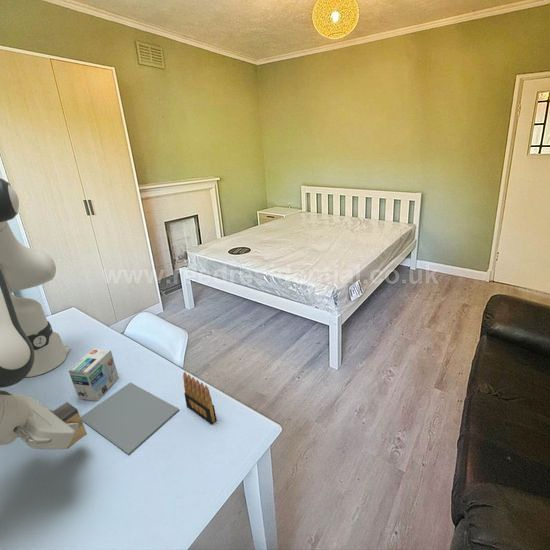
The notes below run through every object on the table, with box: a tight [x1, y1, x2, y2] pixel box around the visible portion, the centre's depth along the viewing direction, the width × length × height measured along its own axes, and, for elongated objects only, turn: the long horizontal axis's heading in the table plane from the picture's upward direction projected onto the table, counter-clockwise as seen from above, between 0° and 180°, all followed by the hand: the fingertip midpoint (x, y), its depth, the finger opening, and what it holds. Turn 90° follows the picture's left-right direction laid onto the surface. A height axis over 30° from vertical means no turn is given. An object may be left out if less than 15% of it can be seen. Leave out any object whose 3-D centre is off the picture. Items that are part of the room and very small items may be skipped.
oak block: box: [52, 401, 88, 449], centre depth 76 cm, size 4×4×8 cm
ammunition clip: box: [182, 371, 217, 425], centre depth 87 cm, size 11×2×12 cm, turn 51°
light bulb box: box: [67, 348, 120, 402], centre depth 99 cm, size 11×7×11 cm, turn 168°
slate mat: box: [80, 381, 180, 456], centre depth 90 cm, size 22×16×1 cm
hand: (69, 421), depth 76 cm, fingers closed on oak block, 4 cm apart
